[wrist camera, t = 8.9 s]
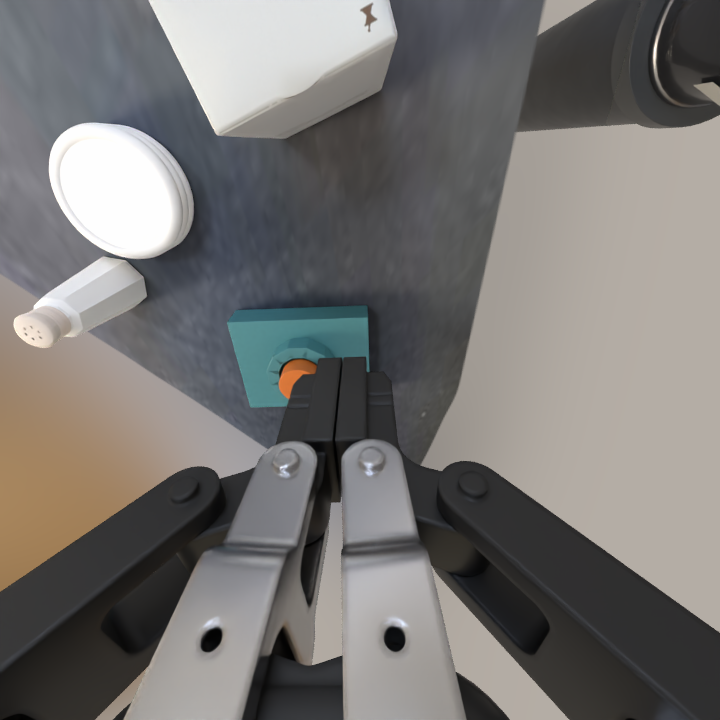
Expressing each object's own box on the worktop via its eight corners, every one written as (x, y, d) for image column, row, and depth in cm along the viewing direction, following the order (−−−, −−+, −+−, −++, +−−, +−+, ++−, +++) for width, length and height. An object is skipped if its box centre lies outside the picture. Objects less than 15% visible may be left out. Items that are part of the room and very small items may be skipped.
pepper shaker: (129, 249, 33) (38, 291, 23) (158, 301, 36) (88, 356, 26) (79, 261, 33) (-29, 307, 24) (112, 311, 36) (27, 369, 27)
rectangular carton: (337, -74, 22) (305, -375, 9) (384, 90, 26) (406, 41, 14) (217, 0, 24) (53, -166, 11) (280, 142, 28) (215, 141, 15)
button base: (367, 305, 36) (368, 326, 32) (369, 388, 42) (371, 415, 38) (236, 309, 36) (219, 331, 32) (256, 391, 42) (245, 419, 38)
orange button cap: (319, 357, 34) (317, 369, 32) (323, 389, 36) (321, 401, 34) (279, 359, 34) (275, 370, 32) (285, 390, 36) (282, 403, 34)
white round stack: (202, 256, 33) (187, 267, 30) (95, 243, 32) (69, 253, 29) (187, 134, 28) (167, 133, 25) (59, 115, 27) (22, 111, 24)
